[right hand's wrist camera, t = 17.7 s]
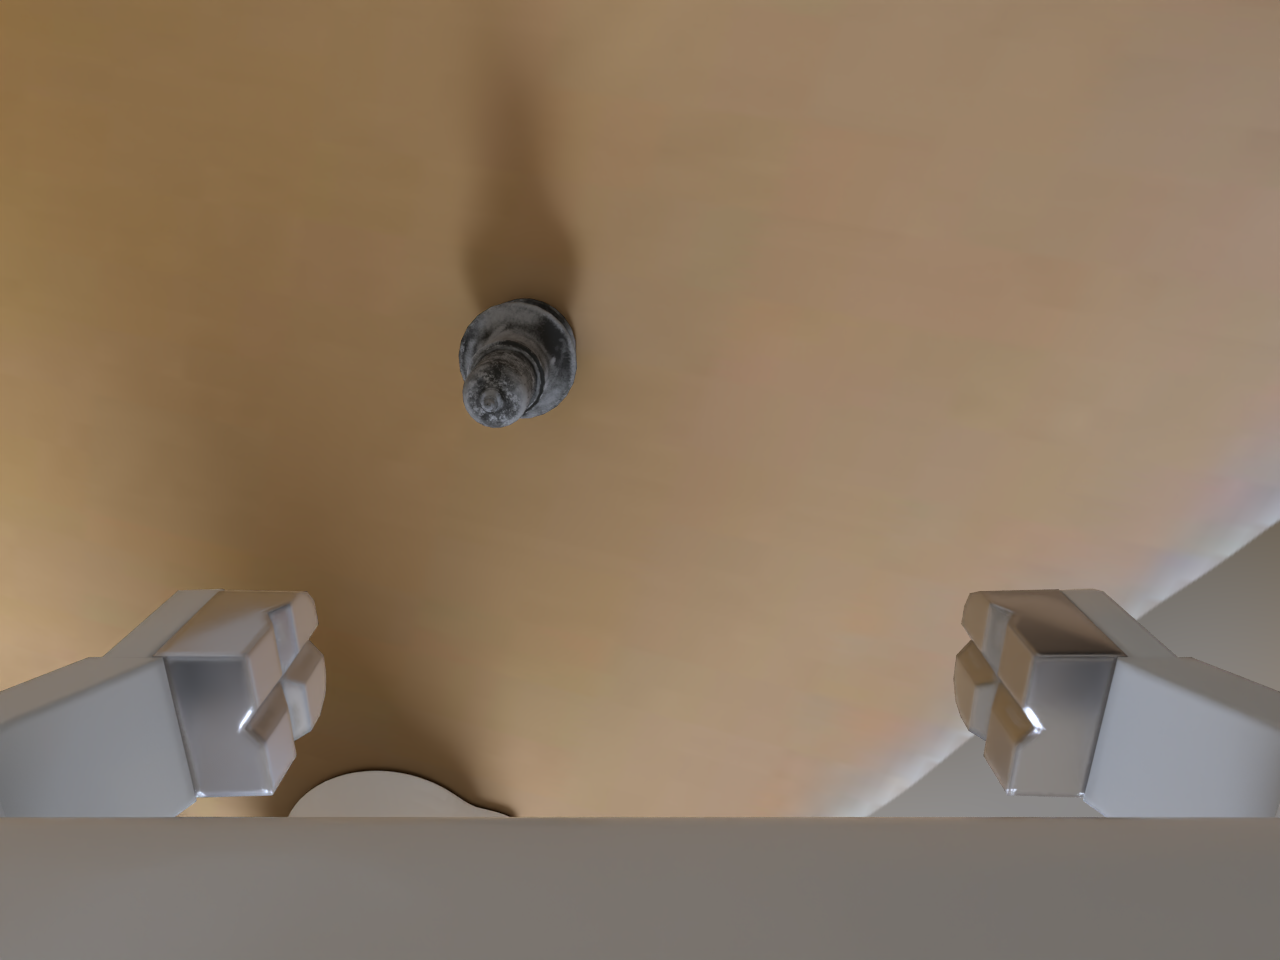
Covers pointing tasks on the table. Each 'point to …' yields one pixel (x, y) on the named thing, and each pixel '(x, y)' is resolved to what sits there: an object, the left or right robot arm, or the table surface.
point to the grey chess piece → (516, 362)
